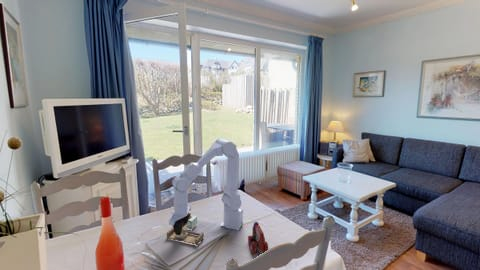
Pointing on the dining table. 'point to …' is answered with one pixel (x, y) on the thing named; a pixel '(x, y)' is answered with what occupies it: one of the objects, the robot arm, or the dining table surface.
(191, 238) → the rail deck
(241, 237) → the dining table surface
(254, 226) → the toy fire truck
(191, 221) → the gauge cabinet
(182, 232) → the block
